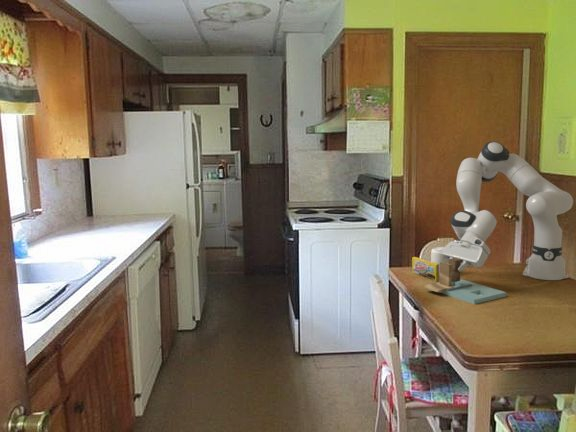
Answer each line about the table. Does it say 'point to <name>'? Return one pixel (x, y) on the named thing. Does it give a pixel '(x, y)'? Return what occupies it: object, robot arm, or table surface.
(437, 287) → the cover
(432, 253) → the beverage can
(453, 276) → the walnut block
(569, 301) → the table surface
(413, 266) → the candy box
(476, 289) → the puzzle board
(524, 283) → the table surface
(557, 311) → the table surface
